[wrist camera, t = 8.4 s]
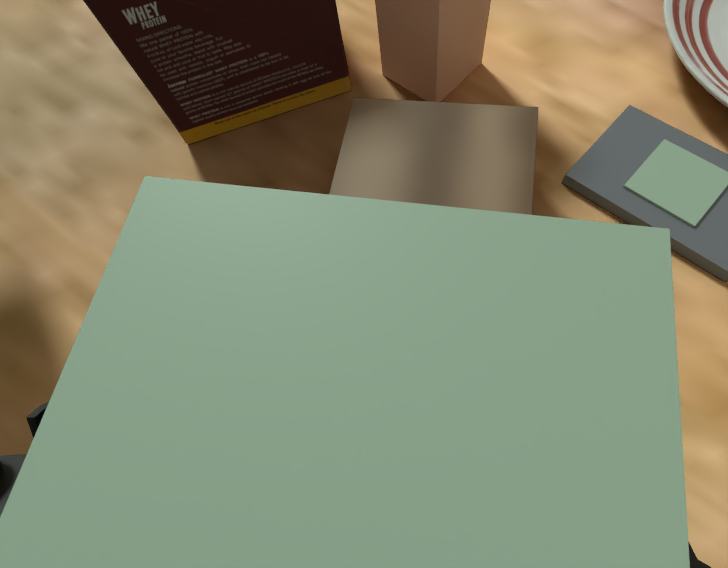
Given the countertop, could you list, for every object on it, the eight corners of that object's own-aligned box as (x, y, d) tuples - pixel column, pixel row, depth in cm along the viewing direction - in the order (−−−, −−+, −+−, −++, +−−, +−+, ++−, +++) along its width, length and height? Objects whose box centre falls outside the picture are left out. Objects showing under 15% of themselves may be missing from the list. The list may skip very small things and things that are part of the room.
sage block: (289, 538, 15) (-125, 814, 3) (328, 362, 17) (144, 175, 5) (472, 583, 13) (728, 1192, 2) (489, 389, 16) (670, 228, 4)
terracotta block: (382, 74, 38) (366, -83, 27) (427, 34, 39) (429, -132, 28) (435, 106, 36) (441, -49, 25) (481, 63, 37) (506, -105, 26)
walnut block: (332, 291, 31) (313, 255, 25) (364, 154, 35) (353, 97, 30) (507, 315, 29) (527, 281, 23) (518, 166, 33) (538, 107, 27)
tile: (561, 182, 32) (566, 172, 31) (623, 114, 33) (630, 102, 32) (724, 281, 28) (737, 274, 27) (787, 199, 29) (801, 188, 28)
